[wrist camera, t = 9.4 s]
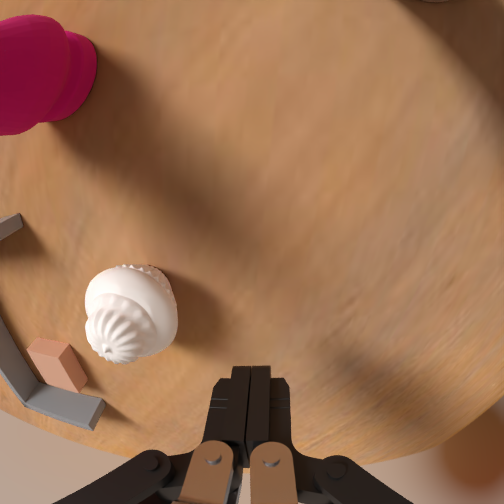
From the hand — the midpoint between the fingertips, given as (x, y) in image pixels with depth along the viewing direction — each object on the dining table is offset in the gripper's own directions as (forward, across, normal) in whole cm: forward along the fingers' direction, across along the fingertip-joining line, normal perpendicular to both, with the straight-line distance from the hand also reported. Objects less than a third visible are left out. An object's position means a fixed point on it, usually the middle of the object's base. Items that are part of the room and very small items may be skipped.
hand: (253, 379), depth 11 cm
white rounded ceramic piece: (+8, +8, 0) cm, 11 cm away
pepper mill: (+8, +12, -15) cm, 21 cm away
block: (+9, +21, +9) cm, 25 cm away
